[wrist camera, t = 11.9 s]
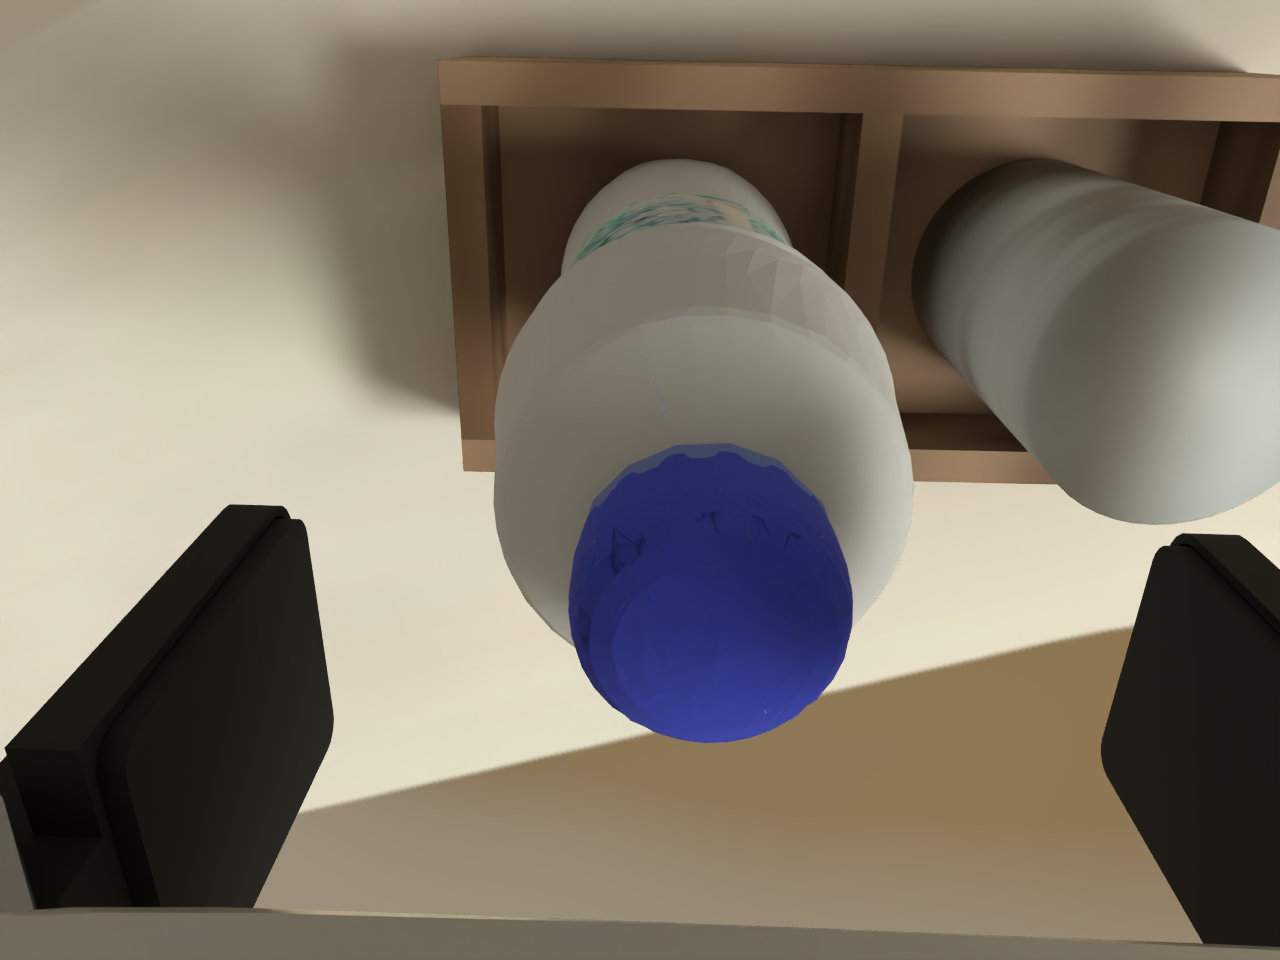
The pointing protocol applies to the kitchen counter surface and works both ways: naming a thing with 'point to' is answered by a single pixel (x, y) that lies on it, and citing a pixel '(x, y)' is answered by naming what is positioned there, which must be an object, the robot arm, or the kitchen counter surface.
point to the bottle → (699, 457)
